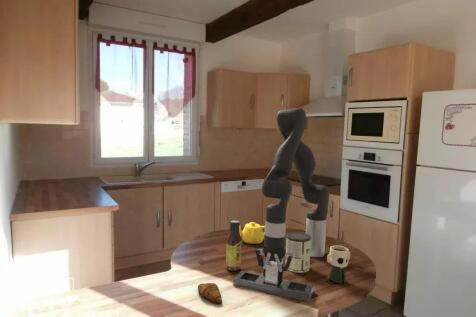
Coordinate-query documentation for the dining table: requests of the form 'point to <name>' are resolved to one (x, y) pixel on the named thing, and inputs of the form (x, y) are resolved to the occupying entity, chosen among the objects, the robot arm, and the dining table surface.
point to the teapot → (252, 233)
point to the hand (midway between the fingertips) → (272, 279)
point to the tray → (282, 289)
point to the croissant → (210, 292)
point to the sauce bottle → (233, 247)
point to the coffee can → (298, 251)
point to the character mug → (338, 263)
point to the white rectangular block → (272, 273)
